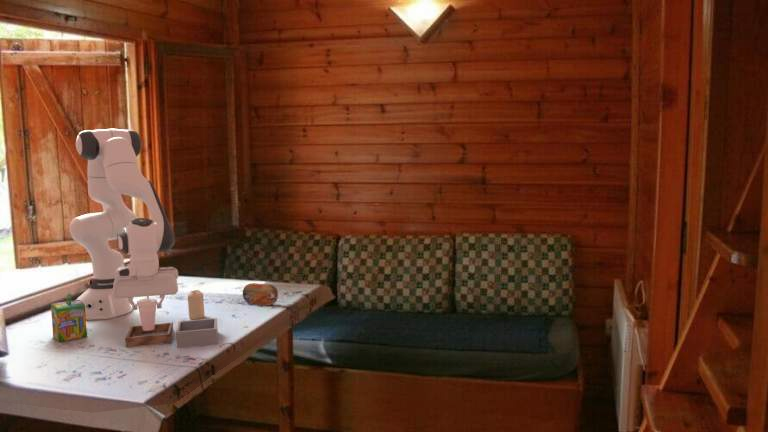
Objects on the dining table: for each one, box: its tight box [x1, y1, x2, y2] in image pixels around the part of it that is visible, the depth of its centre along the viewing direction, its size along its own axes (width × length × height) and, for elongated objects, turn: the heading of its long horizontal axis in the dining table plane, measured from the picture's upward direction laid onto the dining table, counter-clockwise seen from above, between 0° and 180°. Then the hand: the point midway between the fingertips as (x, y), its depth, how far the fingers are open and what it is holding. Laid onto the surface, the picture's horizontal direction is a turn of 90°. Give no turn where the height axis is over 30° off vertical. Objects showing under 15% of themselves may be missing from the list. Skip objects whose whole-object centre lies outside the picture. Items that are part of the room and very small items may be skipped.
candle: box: [187, 289, 205, 320], centre depth 243 cm, size 6×6×10 cm
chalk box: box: [50, 293, 88, 343], centre depth 222 cm, size 9×9×15 cm
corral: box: [124, 322, 174, 348], centre depth 219 cm, size 14×14×3 cm
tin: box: [242, 282, 279, 307], centre depth 259 cm, size 15×3×8 cm, turn 68°
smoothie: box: [136, 296, 158, 331], centre depth 218 cm, size 6×6×14 cm
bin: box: [175, 317, 219, 349], centre depth 216 cm, size 13×13×5 cm
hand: (147, 308), depth 218 cm, fingers closed on smoothie, 6 cm apart
